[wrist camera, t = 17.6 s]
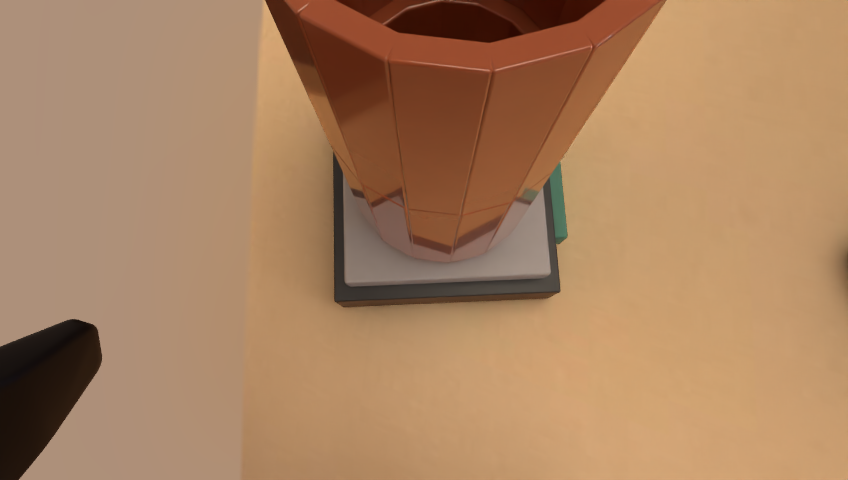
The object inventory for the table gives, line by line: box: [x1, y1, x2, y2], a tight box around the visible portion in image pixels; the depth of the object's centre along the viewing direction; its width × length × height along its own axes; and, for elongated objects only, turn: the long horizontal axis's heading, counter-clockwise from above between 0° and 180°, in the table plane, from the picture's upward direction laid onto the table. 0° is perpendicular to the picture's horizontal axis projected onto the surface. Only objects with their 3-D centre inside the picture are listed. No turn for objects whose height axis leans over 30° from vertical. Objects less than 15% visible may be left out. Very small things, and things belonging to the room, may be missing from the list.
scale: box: [333, 151, 567, 307], centre depth 21 cm, size 8×8×3 cm
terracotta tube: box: [265, 0, 666, 263], centre depth 13 cm, size 6×6×13 cm
